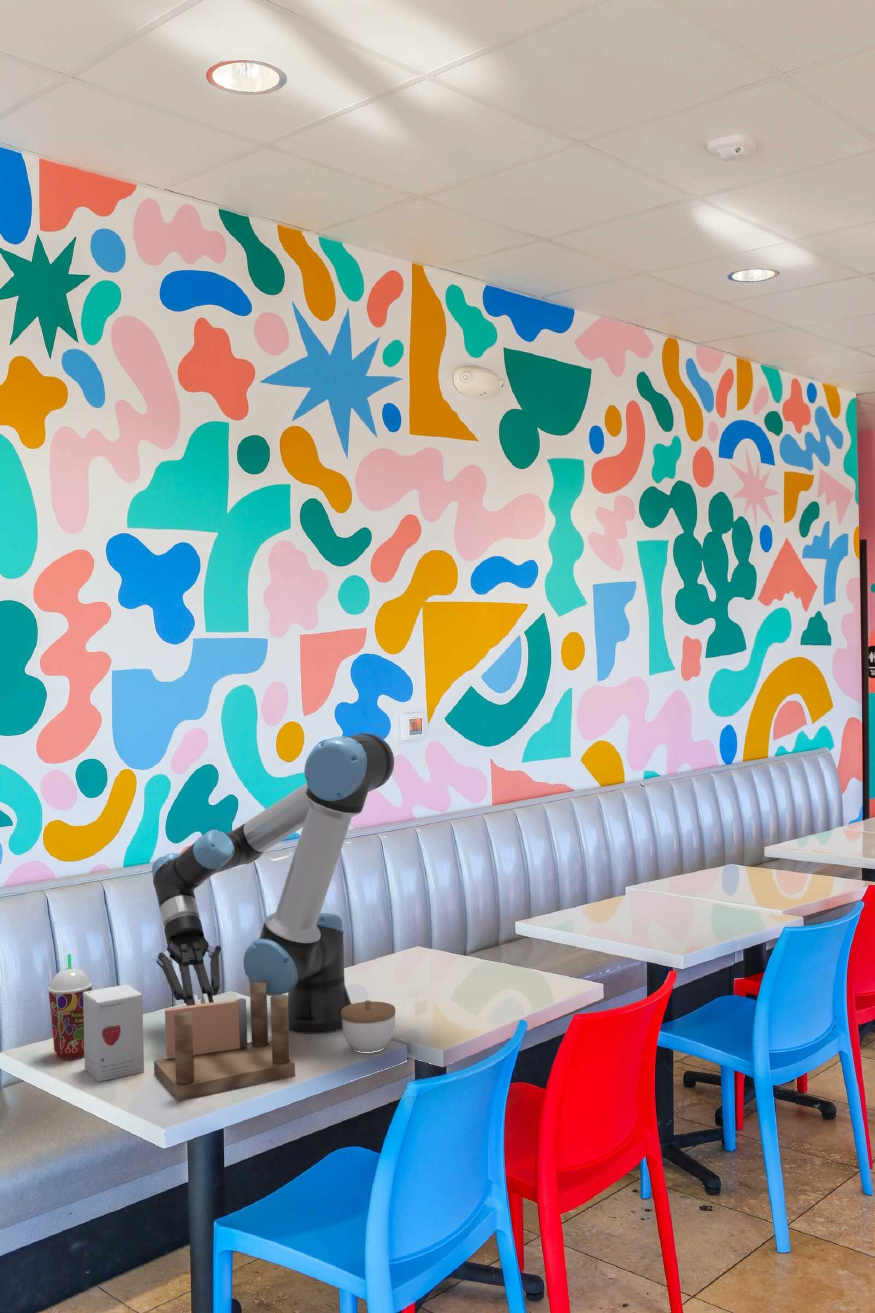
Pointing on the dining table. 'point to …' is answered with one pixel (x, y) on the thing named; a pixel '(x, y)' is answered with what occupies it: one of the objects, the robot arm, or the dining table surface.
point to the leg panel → (211, 1026)
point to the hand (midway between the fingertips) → (205, 1028)
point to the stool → (230, 1053)
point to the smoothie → (68, 1011)
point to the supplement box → (113, 1032)
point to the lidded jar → (368, 1025)
